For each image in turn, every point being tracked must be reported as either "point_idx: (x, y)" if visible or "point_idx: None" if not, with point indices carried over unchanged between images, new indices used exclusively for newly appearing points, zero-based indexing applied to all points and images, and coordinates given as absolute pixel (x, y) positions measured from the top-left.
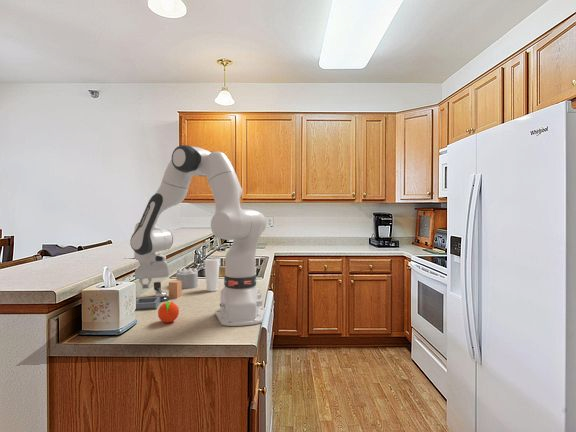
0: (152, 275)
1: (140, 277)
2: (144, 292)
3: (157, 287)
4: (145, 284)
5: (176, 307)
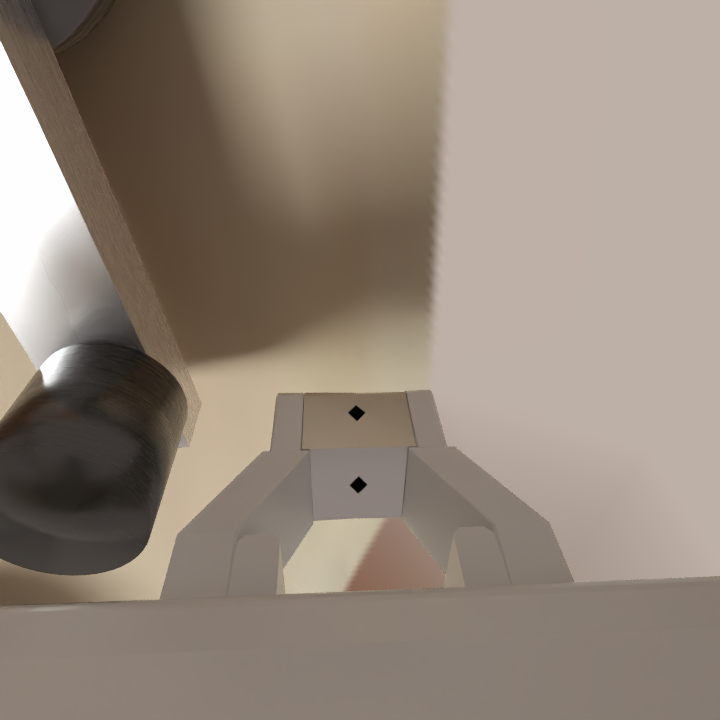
0: (46, 709)
1: (569, 625)
2: (369, 536)
3: (69, 373)
4: (357, 474)
5: None
